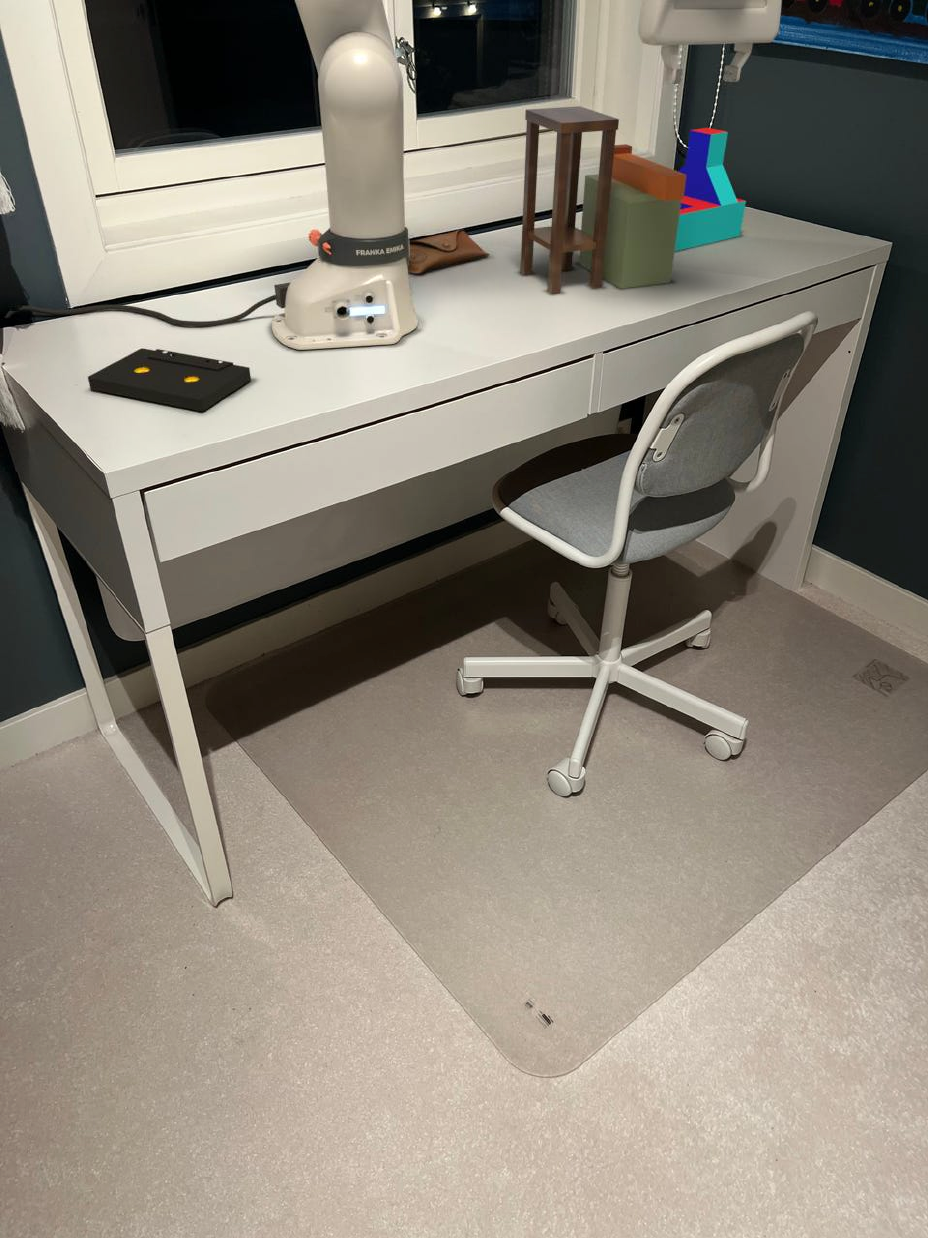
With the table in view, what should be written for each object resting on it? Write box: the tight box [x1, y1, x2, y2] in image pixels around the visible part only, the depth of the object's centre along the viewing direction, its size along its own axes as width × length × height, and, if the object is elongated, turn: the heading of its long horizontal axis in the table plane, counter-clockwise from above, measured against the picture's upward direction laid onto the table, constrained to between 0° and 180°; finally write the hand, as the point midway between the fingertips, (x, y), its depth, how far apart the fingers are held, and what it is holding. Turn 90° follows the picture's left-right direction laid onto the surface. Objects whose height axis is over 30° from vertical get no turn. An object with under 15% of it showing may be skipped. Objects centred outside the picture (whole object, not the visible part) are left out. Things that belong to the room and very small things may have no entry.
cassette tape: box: [87, 348, 252, 412], centre depth 128 cm, size 18×12×2 cm, turn 68°
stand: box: [519, 105, 620, 295], centre depth 159 cm, size 10×13×26 cm
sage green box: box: [578, 173, 681, 290], centre depth 166 cm, size 10×16×15 cm, turn 22°
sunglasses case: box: [408, 228, 490, 275], centre depth 174 cm, size 18×7×7 cm, turn 132°
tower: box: [612, 143, 687, 201], centre depth 158 cm, size 5×20×5 cm, turn 22°
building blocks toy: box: [674, 127, 747, 252], centre depth 188 cm, size 19×25×18 cm
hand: (702, 82), depth 130 cm, fingers open, 8 cm apart
